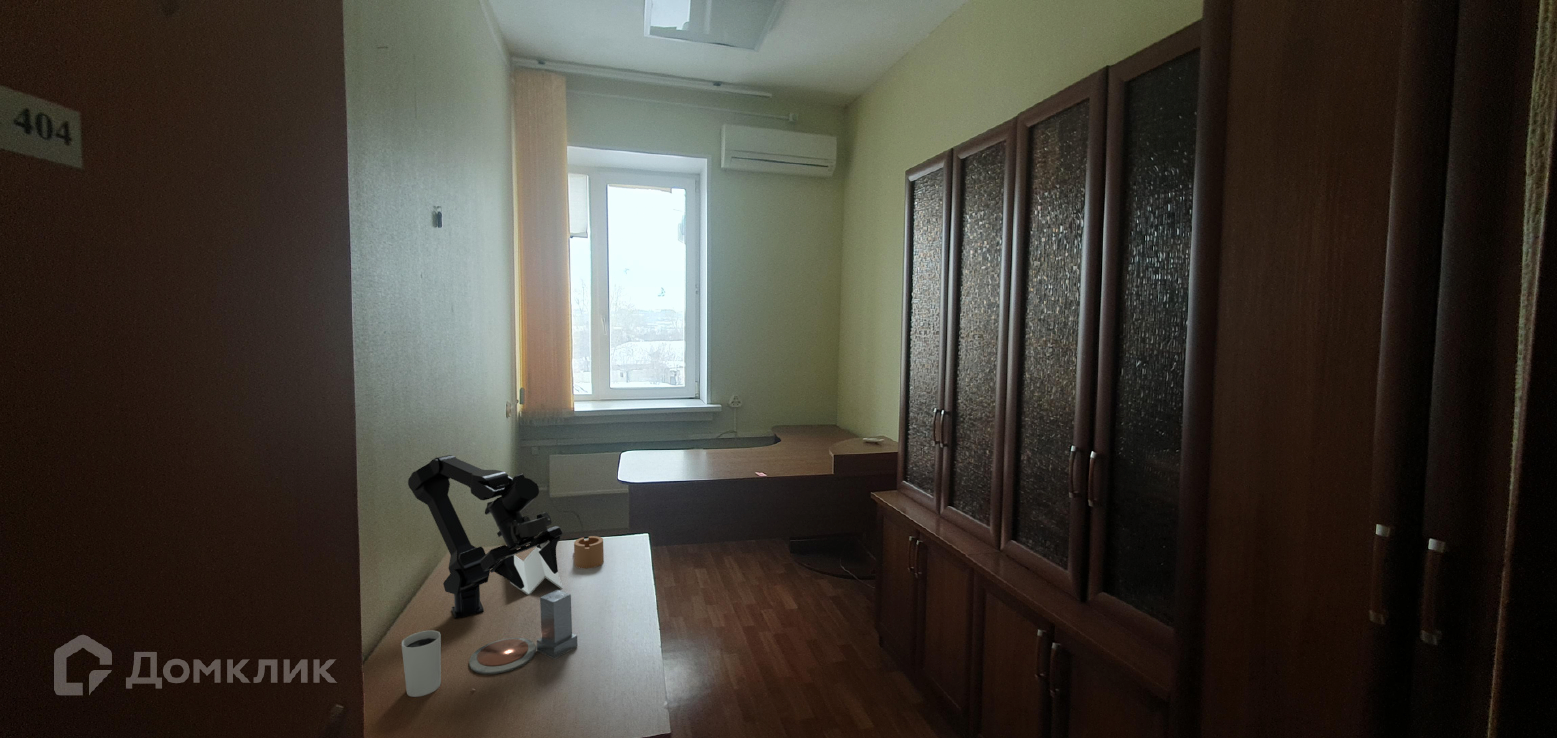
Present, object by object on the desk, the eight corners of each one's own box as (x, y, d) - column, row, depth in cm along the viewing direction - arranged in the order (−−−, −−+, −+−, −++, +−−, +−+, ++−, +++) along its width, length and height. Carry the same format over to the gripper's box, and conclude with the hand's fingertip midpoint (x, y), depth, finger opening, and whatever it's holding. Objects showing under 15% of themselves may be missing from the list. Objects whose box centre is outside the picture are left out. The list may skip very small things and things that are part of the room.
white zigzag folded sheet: (538, 573, 184) (553, 556, 186) (546, 607, 162) (563, 588, 163) (506, 551, 180) (522, 534, 181) (510, 582, 157) (527, 563, 159)
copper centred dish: (465, 652, 131) (465, 647, 131) (528, 635, 139) (528, 629, 138) (474, 681, 121) (473, 675, 120) (542, 661, 128) (541, 655, 128)
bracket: (604, 566, 178) (603, 544, 178) (575, 570, 176) (574, 547, 175) (601, 545, 195) (600, 525, 195) (574, 549, 193) (573, 528, 192)
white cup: (415, 678, 122) (412, 631, 121) (449, 677, 122) (446, 629, 122) (396, 699, 115) (394, 648, 114) (432, 697, 116) (430, 647, 115)
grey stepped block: (536, 650, 132) (534, 597, 131) (559, 638, 137) (558, 587, 136) (554, 658, 129) (552, 604, 128) (577, 646, 134) (575, 593, 133)
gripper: (491, 515, 129) (523, 580, 125) (560, 493, 145) (590, 550, 142) (466, 539, 134) (496, 602, 130) (536, 515, 150) (565, 571, 146)
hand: (540, 580), depth 137 cm, fingers open, 9 cm apart
